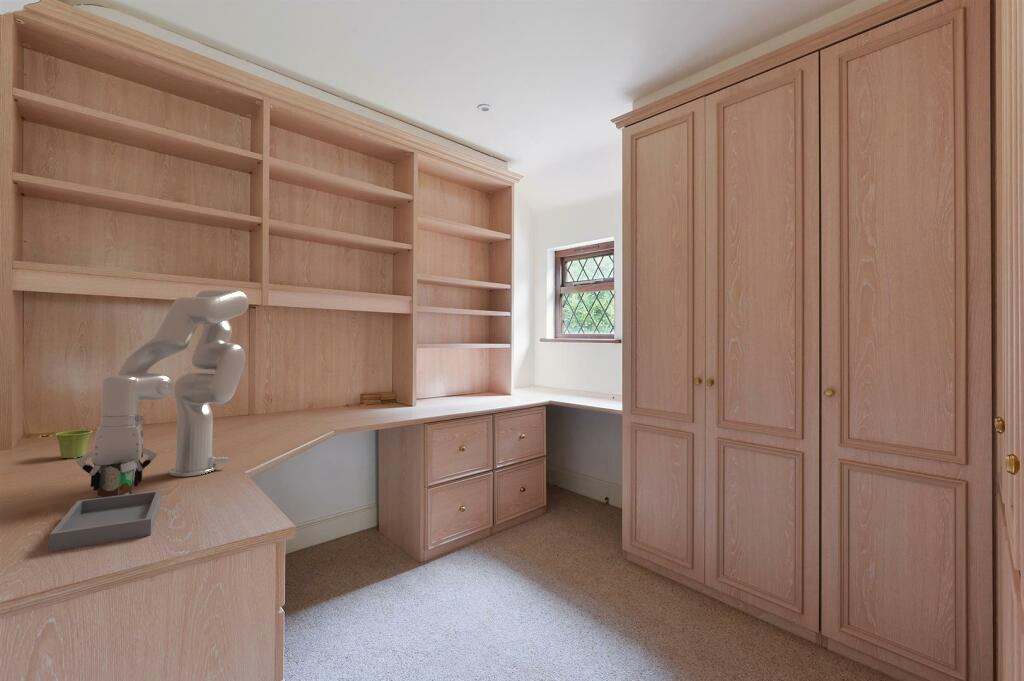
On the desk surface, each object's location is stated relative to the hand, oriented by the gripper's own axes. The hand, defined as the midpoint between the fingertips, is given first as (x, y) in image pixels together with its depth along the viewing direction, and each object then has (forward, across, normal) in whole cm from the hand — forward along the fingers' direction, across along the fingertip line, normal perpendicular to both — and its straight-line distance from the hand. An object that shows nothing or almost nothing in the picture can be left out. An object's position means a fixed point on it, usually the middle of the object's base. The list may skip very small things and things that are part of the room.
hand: (116, 486), depth 123 cm
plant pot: (+3, +20, -57) cm, 61 cm away
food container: (+3, -1, 0) cm, 3 cm away
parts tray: (+3, -2, +23) cm, 23 cm away
